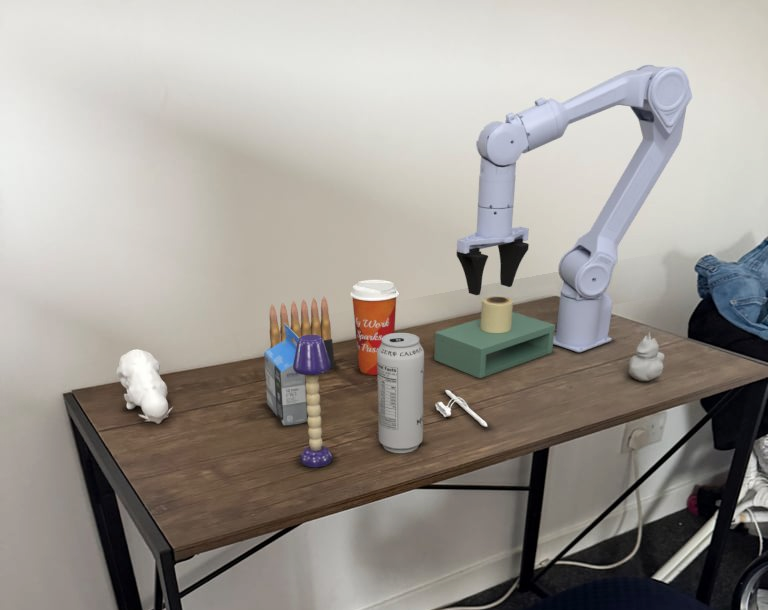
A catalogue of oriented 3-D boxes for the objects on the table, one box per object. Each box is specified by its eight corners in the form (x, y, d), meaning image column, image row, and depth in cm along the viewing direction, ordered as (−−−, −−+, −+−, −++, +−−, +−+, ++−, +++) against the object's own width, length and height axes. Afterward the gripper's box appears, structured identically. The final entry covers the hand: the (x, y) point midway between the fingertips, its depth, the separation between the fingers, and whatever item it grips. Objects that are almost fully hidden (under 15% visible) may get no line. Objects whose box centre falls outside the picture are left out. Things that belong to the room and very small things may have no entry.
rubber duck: (617, 377, 123) (625, 329, 118) (646, 369, 125) (654, 322, 121) (643, 388, 119) (652, 339, 114) (672, 379, 121) (681, 331, 117)
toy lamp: (300, 451, 102) (290, 332, 93) (335, 450, 102) (328, 330, 94) (300, 469, 98) (290, 345, 89) (336, 467, 98) (329, 343, 89)
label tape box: (266, 404, 116) (258, 325, 109) (292, 399, 117) (285, 321, 110) (283, 427, 109) (275, 344, 102) (310, 422, 110) (304, 340, 103)
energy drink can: (428, 451, 102) (430, 344, 94) (386, 458, 100) (384, 349, 92) (414, 432, 107) (415, 329, 99) (373, 438, 105) (371, 334, 97)
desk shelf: (505, 336, 140) (507, 310, 137) (552, 352, 132) (555, 324, 130) (434, 360, 130) (434, 332, 128) (479, 378, 123) (481, 349, 120)
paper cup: (345, 373, 125) (341, 289, 118) (364, 358, 131) (361, 276, 124) (389, 380, 123) (388, 294, 115) (406, 363, 129) (406, 281, 121)
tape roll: (495, 321, 132) (497, 293, 129) (517, 328, 128) (519, 299, 126) (474, 327, 129) (475, 299, 126) (496, 335, 126) (498, 306, 123)
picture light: (489, 428, 107) (490, 414, 106) (461, 433, 106) (462, 419, 105) (447, 392, 118) (448, 379, 117) (422, 396, 117) (422, 383, 116)
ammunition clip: (330, 364, 129) (327, 294, 123) (335, 368, 128) (331, 297, 121) (271, 375, 125) (264, 304, 119) (275, 379, 124) (268, 307, 117)
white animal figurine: (153, 341, 114) (175, 374, 106) (161, 391, 119) (183, 427, 111) (110, 349, 112) (129, 383, 103) (120, 400, 117) (140, 436, 109)
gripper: (480, 215, 116) (475, 303, 123) (545, 203, 123) (537, 287, 130) (449, 208, 120) (446, 293, 128) (513, 197, 128) (507, 278, 135)
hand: (490, 289), depth 129 cm, fingers open, 7 cm apart
